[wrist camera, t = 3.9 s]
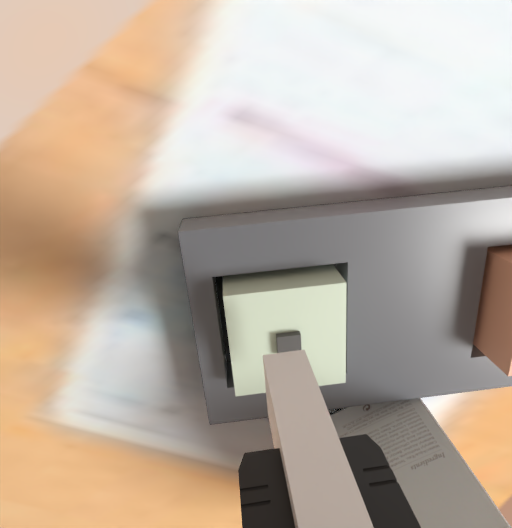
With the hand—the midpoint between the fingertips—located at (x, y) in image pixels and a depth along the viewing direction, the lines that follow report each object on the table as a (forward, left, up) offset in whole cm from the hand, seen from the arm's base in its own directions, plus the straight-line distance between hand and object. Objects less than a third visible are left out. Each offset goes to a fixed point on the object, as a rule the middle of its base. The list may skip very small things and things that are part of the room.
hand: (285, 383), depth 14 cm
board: (+7, 0, -6) cm, 9 cm away
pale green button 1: (+1, 0, -6) cm, 6 cm away
